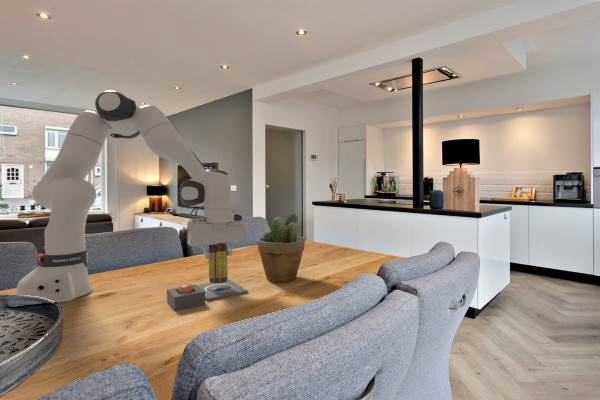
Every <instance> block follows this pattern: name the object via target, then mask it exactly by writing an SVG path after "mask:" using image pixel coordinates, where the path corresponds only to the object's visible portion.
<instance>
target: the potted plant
mask: <svg viewBox="0 0 600 400" xmlns="http://www.w3.org/2000/svg"><path fill="white" fill-rule="evenodd" d="M298 220H299V218H298V215H297V214H295V213H293V212H290V213H288V214H287V216H286V219H284V218H283V217H281V216H276V217H274V218H273V219H272V223H271V227H272V228H271V230H269V231H267V232H264V234H263V235H262V237H260V238H257V239H256V243H257V251H258V252H259V255H260V256H259V257H260V260H261V264H262V267H263V270H264V274H265V278H266V280H267V281H268V282H271V283H280V284H282V283H291V282H294V281H295V280H296V278H297V275H298V272H299V268H300V265H301V261H302V259H303V258H302V256H303V251H304V250H305V244H306V243H305V242H306V238H305V237H304V236H301V235H300V236H299V235H297V231H298V228H299V227H298Z"/></svg>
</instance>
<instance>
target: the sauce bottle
mask: <svg viewBox="0 0 600 400" xmlns="http://www.w3.org/2000/svg"><path fill="white" fill-rule="evenodd" d="M227 250H228V246H227V243H218V244H215V245H208V252H209V253H211V255H210V256H211V258H208V278H209V283H224V282H227V280H228V273H229V272H228V269H229V268H228V256H227Z"/></svg>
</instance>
